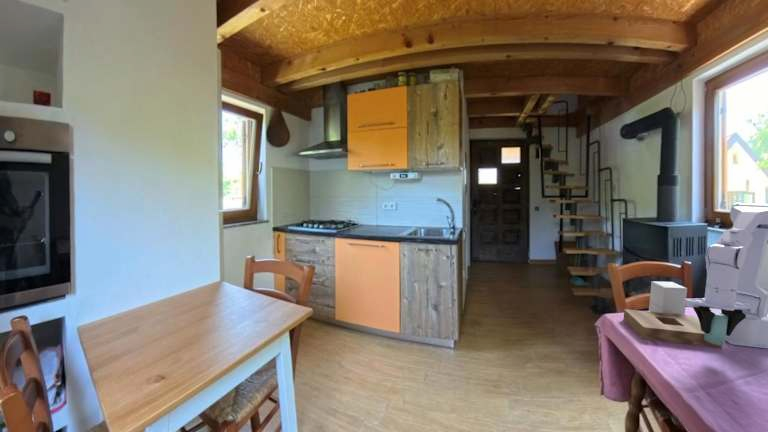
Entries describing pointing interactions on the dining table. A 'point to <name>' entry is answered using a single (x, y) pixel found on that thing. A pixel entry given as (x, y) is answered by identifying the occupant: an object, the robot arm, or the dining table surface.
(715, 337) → the peg
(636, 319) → the socket block
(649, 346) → the dining table surface
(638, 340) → the dining table surface
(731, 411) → the dining table surface
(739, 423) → the dining table surface
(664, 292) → the supplement box
